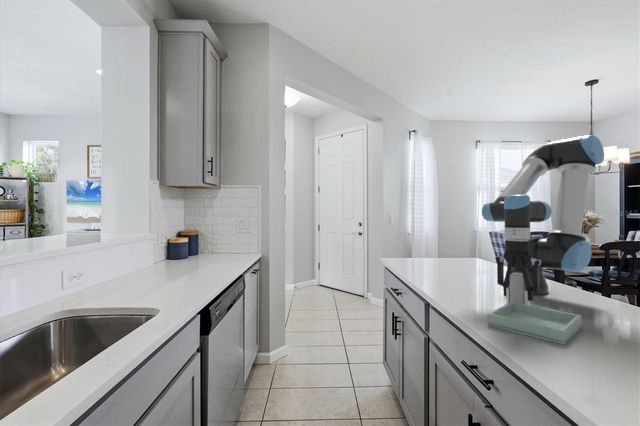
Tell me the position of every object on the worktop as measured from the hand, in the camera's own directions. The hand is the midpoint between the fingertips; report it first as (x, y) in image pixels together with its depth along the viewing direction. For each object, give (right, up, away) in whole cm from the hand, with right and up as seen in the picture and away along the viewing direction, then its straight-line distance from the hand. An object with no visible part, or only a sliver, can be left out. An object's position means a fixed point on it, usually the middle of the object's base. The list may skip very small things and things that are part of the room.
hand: (518, 307), depth 107 cm
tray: (-6, 0, -16) cm, 17 cm away
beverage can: (0, -1, 0) cm, 1 cm away
